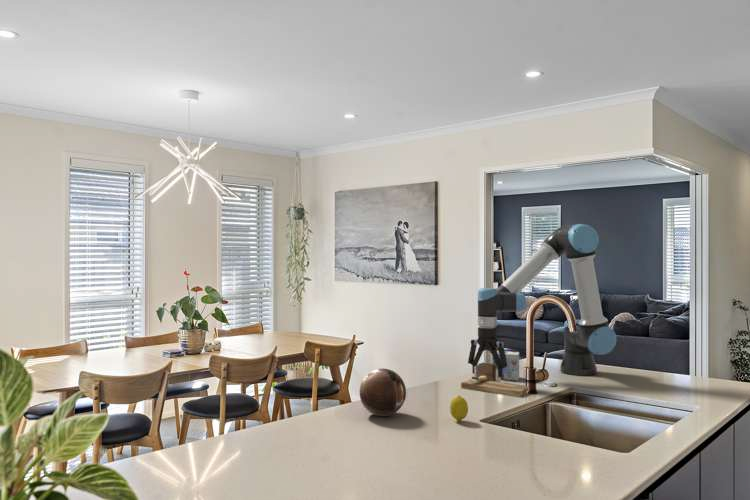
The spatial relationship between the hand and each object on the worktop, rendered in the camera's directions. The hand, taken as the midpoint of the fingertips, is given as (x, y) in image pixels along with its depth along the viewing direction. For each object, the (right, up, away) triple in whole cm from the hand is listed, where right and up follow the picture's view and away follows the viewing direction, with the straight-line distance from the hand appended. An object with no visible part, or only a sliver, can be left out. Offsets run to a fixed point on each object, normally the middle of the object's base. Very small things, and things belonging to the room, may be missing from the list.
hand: (487, 383), depth 235 cm
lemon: (-19, 0, -52) cm, 55 cm away
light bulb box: (+10, -1, +11) cm, 15 cm away
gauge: (-3, 0, -4) cm, 5 cm away
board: (+1, 0, -10) cm, 10 cm away
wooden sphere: (-42, 0, -45) cm, 61 cm away
